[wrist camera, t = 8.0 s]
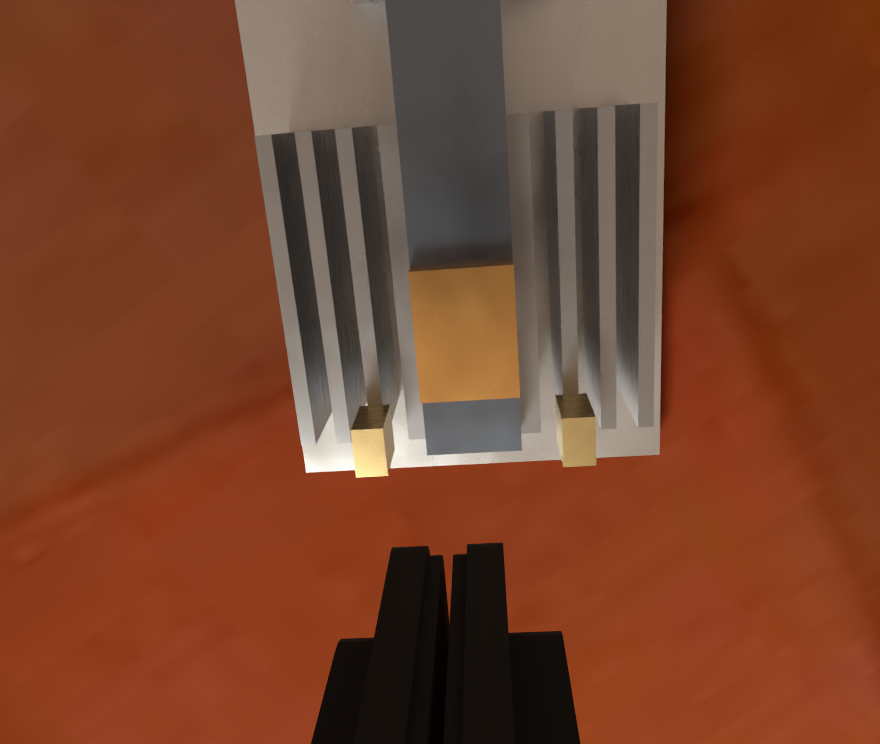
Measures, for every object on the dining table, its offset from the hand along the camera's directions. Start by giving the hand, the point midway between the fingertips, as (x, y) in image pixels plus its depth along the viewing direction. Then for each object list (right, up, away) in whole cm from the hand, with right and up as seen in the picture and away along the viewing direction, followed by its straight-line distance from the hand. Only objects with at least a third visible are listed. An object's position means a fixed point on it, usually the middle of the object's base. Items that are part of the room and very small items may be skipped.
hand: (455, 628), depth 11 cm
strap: (0, +9, +11) cm, 15 cm away
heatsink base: (+1, +10, +16) cm, 19 cm away
